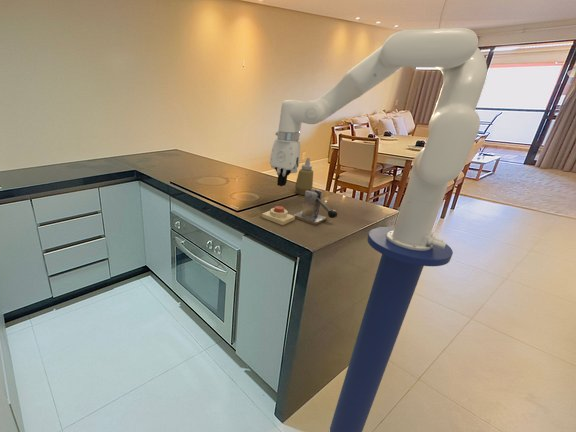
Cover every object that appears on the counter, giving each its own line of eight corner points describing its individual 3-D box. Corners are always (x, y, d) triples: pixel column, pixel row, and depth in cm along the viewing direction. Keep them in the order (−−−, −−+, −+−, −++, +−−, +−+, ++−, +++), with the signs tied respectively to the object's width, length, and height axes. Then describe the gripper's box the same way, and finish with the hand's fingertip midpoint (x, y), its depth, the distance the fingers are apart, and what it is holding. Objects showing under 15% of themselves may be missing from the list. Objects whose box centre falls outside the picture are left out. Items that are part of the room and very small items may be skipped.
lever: (334, 218, 112) (340, 213, 110) (330, 220, 110) (336, 215, 108) (310, 194, 118) (315, 189, 115) (306, 196, 116) (311, 190, 114)
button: (285, 211, 117) (285, 207, 117) (279, 214, 115) (280, 209, 115) (277, 209, 120) (278, 205, 119) (272, 211, 118) (272, 207, 117)
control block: (294, 220, 118) (295, 212, 116) (282, 225, 113) (283, 217, 112) (273, 212, 125) (274, 204, 123) (261, 217, 120) (262, 209, 119)
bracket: (326, 220, 118) (331, 192, 113) (315, 225, 113) (321, 196, 108) (303, 212, 125) (308, 186, 120) (292, 217, 120) (297, 189, 116)
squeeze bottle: (290, 192, 150) (295, 157, 142) (303, 190, 153) (308, 155, 145) (301, 197, 143) (307, 160, 136) (314, 195, 146) (321, 159, 139)
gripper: (265, 134, 109) (259, 182, 117) (301, 140, 99) (292, 192, 106) (277, 133, 114) (271, 179, 121) (313, 138, 103) (304, 188, 110)
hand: (281, 185), depth 113 cm, fingers closed
